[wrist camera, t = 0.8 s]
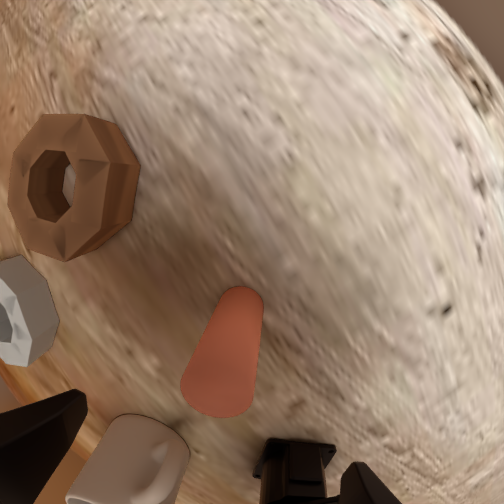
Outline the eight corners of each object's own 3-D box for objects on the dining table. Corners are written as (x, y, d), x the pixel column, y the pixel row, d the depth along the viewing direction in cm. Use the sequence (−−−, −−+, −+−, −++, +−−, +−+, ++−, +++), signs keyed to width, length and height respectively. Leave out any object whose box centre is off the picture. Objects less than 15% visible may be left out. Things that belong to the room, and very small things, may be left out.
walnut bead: (127, 257, 20) (97, 273, 16) (39, 231, 20) (6, 240, 16) (148, 127, 18) (120, 115, 14) (54, 121, 18) (20, 115, 14)
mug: (162, 474, 25) (134, 548, 15) (100, 430, 25) (54, 500, 14) (231, 437, 23) (210, 540, 12) (153, 382, 22) (95, 480, 11)
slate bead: (69, 347, 22) (45, 369, 18) (16, 345, 23) (-6, 361, 19) (38, 250, 20) (6, 261, 16) (-11, 264, 21) (-38, 274, 18)
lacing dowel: (258, 331, 20) (245, 424, 11) (215, 321, 20) (177, 407, 11) (268, 292, 19) (261, 372, 11) (223, 281, 20) (184, 353, 11)
